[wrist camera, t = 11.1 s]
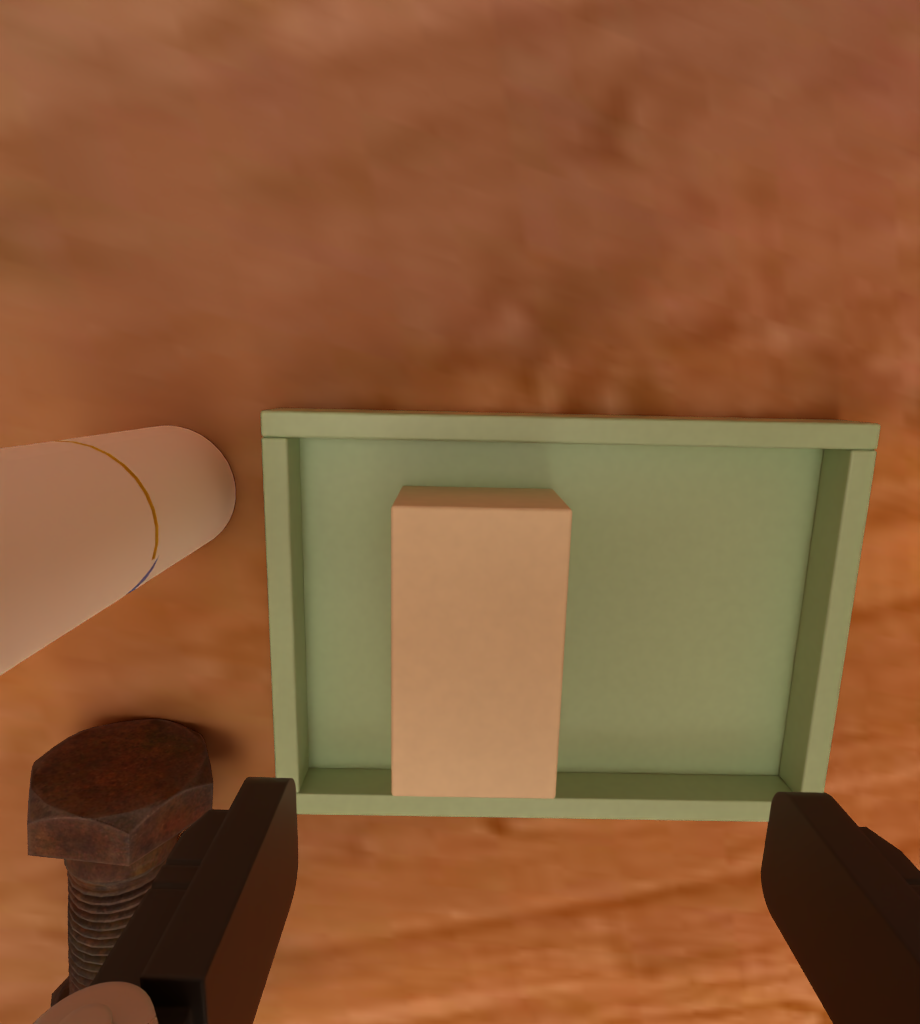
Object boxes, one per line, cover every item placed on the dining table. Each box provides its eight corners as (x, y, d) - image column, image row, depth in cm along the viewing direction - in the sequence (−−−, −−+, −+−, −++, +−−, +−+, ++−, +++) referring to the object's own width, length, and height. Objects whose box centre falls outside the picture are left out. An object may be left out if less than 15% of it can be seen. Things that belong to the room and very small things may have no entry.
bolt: (148, 1003, 27) (155, 698, 24) (228, 1077, 25) (248, 751, 22) (-1, 1135, 22) (-19, 773, 19) (81, 1242, 20) (78, 853, 17)
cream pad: (401, 485, 21) (390, 505, 17) (553, 488, 21) (572, 509, 17) (401, 733, 22) (390, 797, 19) (540, 736, 22) (555, 800, 19)
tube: (126, 406, 21) (-709, 467, 6) (251, 451, 21) (-241, 616, 6) (95, 525, 21) (-705, 841, 7) (216, 567, 22) (-294, 956, 7)
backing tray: (278, 407, 21) (259, 410, 19) (840, 419, 21) (882, 423, 19) (292, 776, 23) (276, 814, 21) (788, 784, 23) (820, 823, 21)
